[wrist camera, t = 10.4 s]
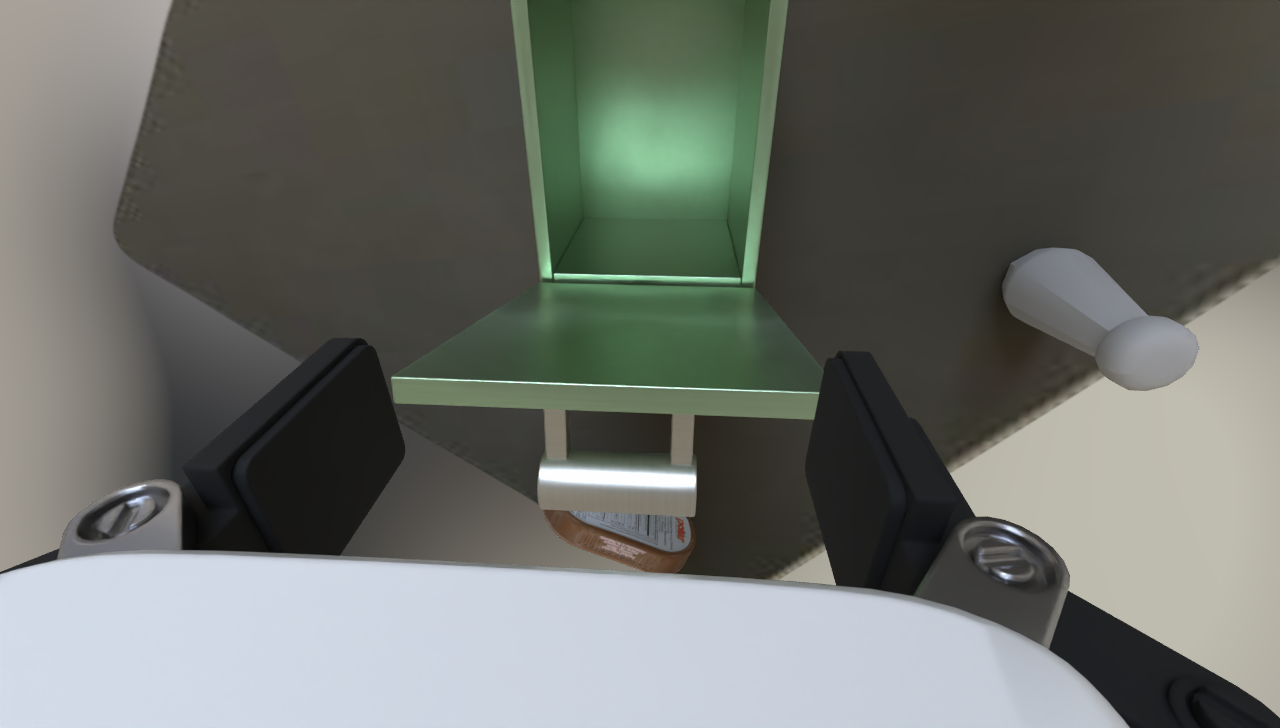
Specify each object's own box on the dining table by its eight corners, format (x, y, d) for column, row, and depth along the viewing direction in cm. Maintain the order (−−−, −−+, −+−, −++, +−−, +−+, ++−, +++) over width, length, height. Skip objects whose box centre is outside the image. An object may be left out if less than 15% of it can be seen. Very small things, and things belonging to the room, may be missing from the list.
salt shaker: (1020, 228, 39) (1155, 305, 28) (1092, 248, 39) (1254, 332, 28) (974, 300, 42) (1080, 395, 31) (1042, 317, 42) (1170, 418, 31)
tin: (551, 471, 54) (531, 538, 47) (562, 450, 53) (543, 515, 46) (685, 520, 57) (685, 590, 49) (699, 501, 55) (701, 571, 48)
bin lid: (389, 377, 15) (411, 538, 16) (843, 393, 14) (820, 561, 16) (538, 282, 30) (541, 369, 32) (756, 287, 30) (749, 376, 31)
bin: (558, -28, 33) (503, -57, 23) (760, -30, 32) (796, -61, 22) (575, 224, 41) (540, 286, 31) (736, 227, 40) (754, 291, 30)
